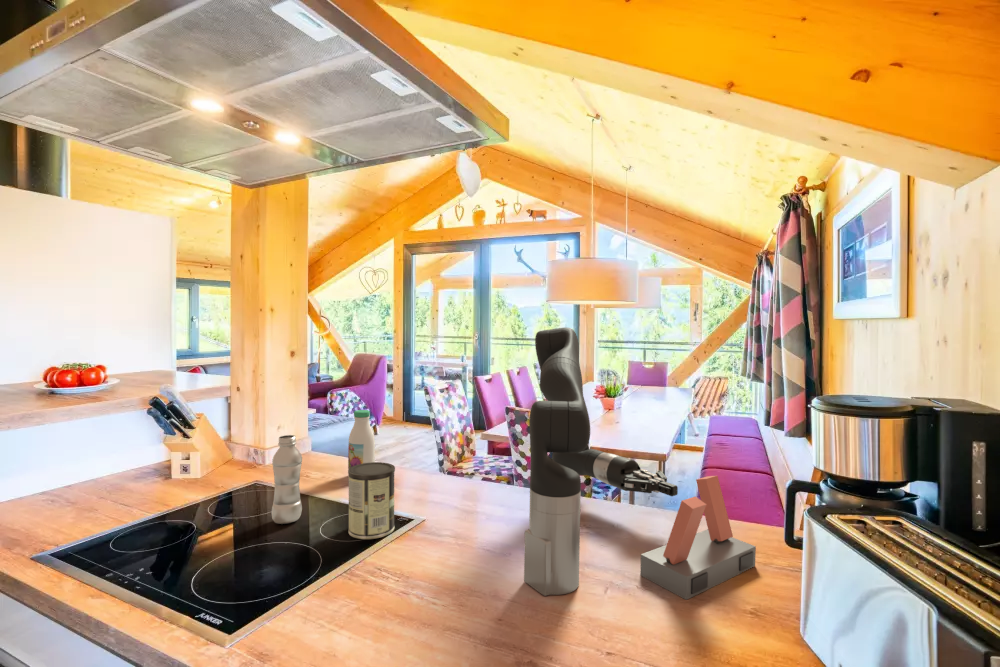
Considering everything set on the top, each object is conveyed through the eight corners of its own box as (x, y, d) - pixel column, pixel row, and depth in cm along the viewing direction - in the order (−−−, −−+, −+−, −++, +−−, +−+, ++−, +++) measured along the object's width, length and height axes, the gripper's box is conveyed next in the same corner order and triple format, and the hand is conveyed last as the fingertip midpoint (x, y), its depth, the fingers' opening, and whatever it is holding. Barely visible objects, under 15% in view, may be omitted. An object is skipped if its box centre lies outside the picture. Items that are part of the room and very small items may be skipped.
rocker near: (672, 566, 91) (692, 508, 88) (661, 557, 93) (681, 500, 90) (686, 561, 93) (706, 504, 90) (675, 551, 95) (694, 495, 92)
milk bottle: (367, 471, 158) (368, 407, 157) (378, 477, 152) (379, 411, 152) (344, 475, 153) (344, 410, 153) (354, 482, 147) (355, 414, 147)
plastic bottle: (265, 523, 117) (265, 438, 116) (289, 514, 123) (289, 432, 122) (284, 529, 114) (284, 441, 113) (308, 519, 120) (308, 435, 119)
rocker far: (722, 543, 99) (706, 478, 102) (710, 543, 101) (695, 479, 104) (733, 538, 101) (717, 475, 104) (722, 538, 103) (706, 476, 106)
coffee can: (371, 517, 121) (371, 459, 121) (403, 527, 116) (404, 466, 116) (337, 532, 112) (338, 470, 112) (371, 543, 107) (371, 478, 107)
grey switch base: (687, 600, 87) (688, 577, 87) (640, 575, 95) (640, 554, 95) (756, 566, 99) (757, 546, 99) (709, 547, 108) (709, 528, 107)
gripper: (597, 459, 121) (656, 479, 107) (634, 452, 128) (694, 469, 114) (596, 490, 121) (655, 514, 107) (633, 481, 129) (693, 502, 114)
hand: (675, 491), depth 111 cm, fingers closed
